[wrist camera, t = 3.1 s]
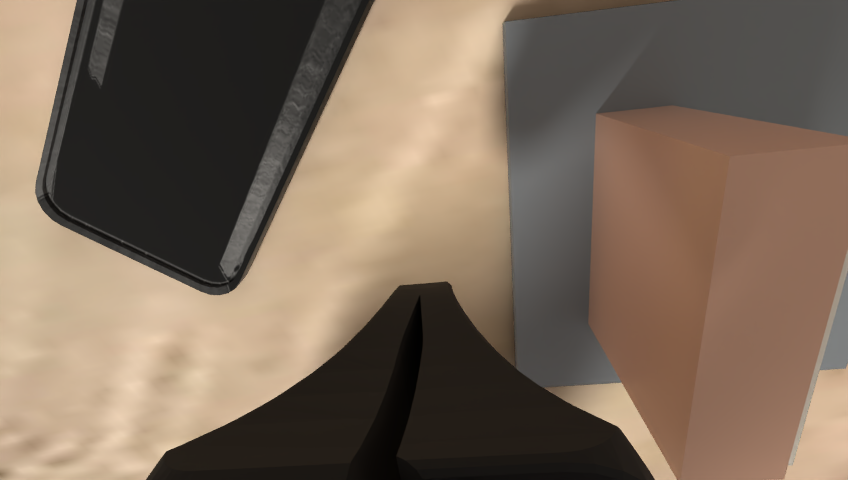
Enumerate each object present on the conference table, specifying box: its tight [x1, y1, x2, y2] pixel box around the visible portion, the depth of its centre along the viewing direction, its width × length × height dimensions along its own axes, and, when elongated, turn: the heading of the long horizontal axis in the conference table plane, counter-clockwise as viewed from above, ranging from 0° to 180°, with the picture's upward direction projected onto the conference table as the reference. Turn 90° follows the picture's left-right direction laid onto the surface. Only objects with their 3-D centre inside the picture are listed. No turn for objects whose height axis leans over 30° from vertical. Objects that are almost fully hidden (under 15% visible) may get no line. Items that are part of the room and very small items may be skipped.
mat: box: [503, 0, 848, 387], centre depth 16 cm, size 14×13×1 cm
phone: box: [35, 0, 374, 295], centre depth 14 cm, size 8×1×15 cm
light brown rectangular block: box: [588, 105, 848, 480], centre depth 12 cm, size 8×3×7 cm, turn 6°
